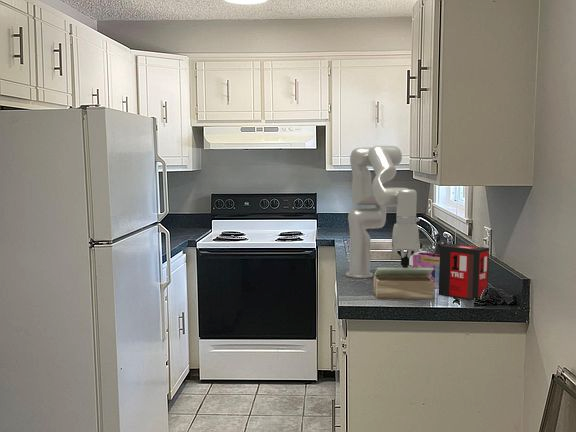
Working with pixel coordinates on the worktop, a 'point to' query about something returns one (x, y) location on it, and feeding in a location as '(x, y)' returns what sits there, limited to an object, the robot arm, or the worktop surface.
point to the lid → (403, 271)
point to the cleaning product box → (463, 271)
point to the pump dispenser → (437, 248)
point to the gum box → (428, 265)
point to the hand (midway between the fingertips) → (404, 267)
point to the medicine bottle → (415, 254)
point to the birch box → (403, 287)
